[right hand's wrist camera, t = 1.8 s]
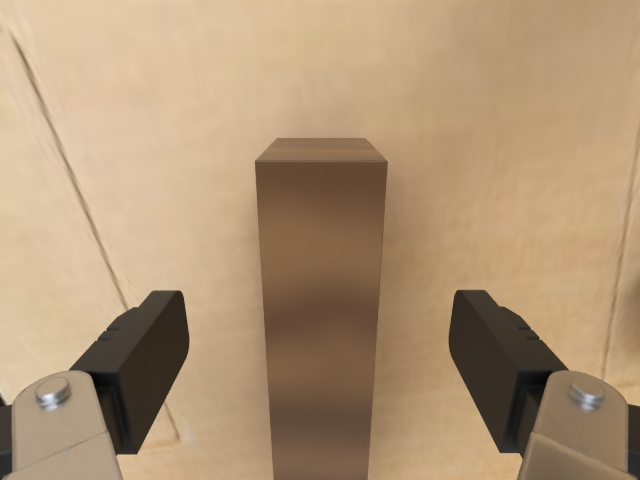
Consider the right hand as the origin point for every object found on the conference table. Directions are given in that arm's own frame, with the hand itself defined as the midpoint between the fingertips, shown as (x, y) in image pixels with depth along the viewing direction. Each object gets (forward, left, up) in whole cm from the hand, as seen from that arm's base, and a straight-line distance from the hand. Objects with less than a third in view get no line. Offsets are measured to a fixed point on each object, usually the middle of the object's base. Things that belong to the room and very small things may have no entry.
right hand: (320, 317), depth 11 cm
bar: (+5, +9, -15) cm, 18 cm away
